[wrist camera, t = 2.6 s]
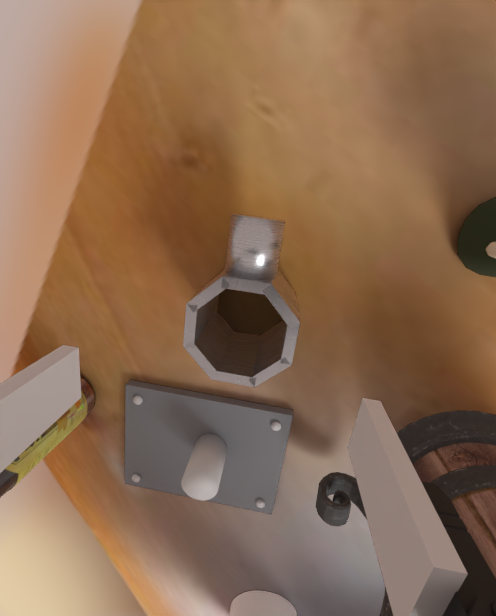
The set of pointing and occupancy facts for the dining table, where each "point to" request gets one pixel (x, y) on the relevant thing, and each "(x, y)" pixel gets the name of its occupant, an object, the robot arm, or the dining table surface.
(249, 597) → the cylinder container
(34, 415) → the robot arm
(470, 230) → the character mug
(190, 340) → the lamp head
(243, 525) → the dining table surface
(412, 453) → the tankard
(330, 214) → the dining table surface
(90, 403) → the sauce bottle
